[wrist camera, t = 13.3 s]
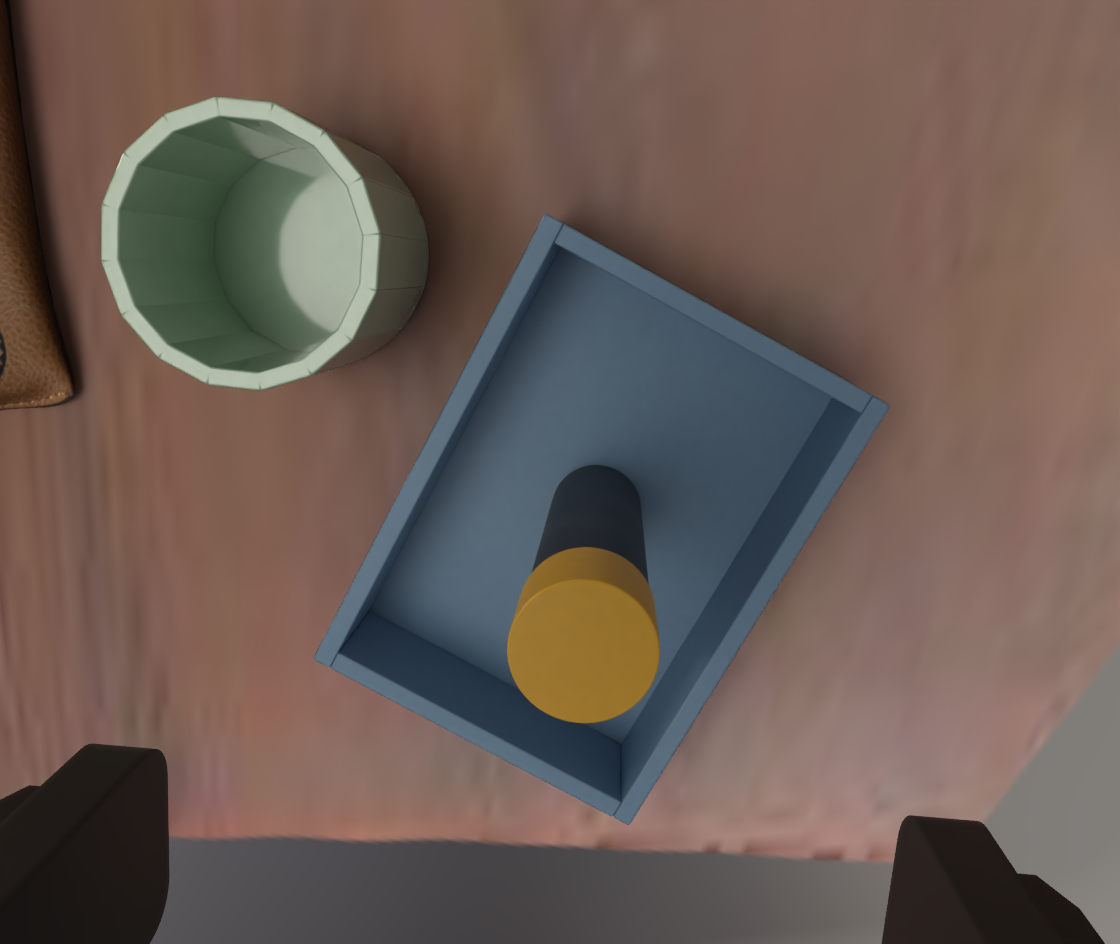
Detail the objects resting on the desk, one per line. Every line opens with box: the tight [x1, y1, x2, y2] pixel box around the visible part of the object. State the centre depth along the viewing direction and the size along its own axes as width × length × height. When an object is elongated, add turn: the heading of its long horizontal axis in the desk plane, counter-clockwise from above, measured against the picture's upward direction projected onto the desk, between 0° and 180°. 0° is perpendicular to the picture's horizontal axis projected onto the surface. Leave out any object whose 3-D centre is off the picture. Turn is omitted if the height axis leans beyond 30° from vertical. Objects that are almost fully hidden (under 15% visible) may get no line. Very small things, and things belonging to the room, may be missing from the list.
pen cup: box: [101, 96, 429, 391], centre depth 29 cm, size 7×7×7 cm
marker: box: [507, 465, 660, 723], centre depth 27 cm, size 3×3×13 cm
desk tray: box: [314, 214, 890, 825], centre depth 32 cm, size 11×15×4 cm
